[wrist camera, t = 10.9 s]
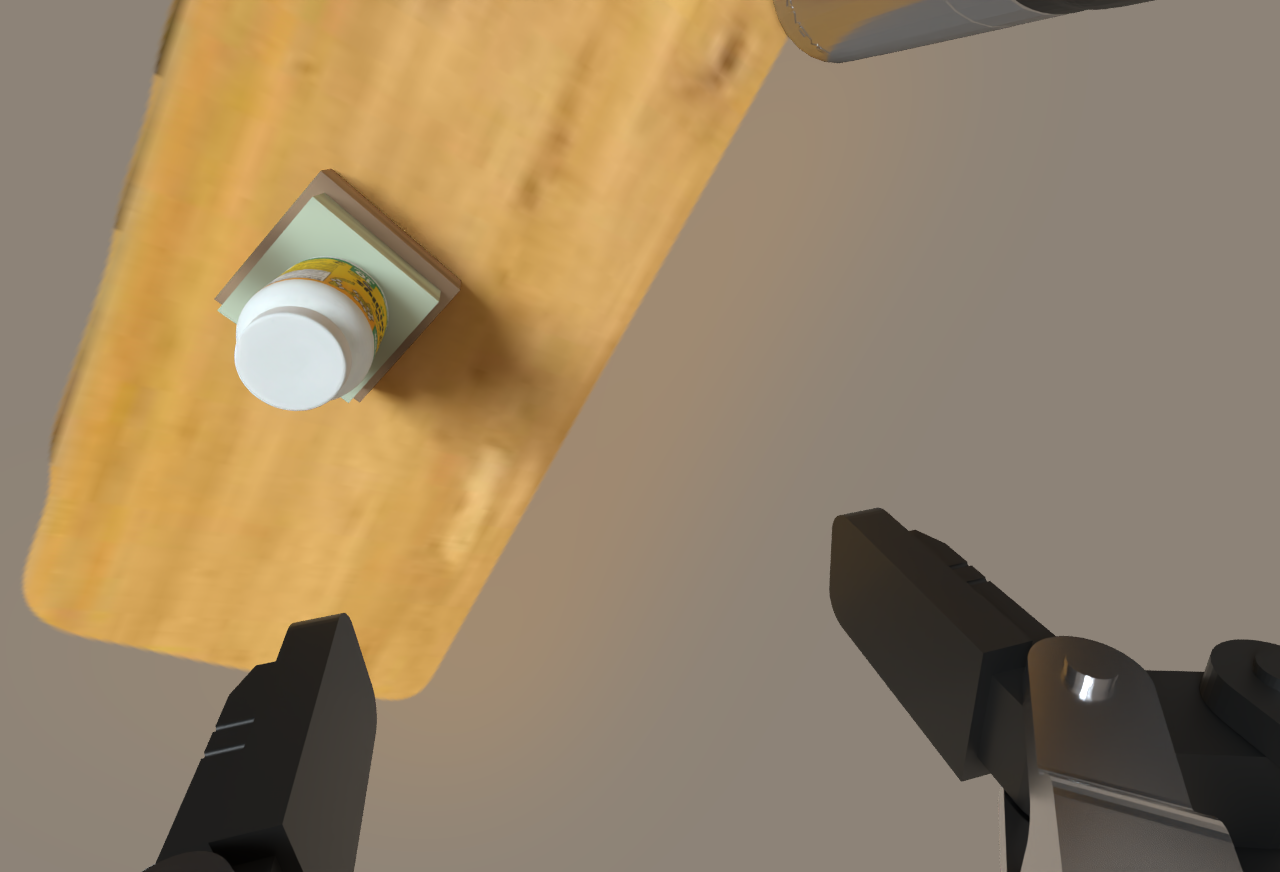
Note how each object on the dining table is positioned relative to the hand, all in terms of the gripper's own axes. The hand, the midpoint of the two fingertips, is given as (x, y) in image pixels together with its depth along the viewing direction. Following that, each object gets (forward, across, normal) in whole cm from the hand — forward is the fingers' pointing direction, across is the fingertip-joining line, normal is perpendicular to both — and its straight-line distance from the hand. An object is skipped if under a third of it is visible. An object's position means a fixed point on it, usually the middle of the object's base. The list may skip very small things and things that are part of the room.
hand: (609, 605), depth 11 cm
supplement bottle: (+28, +9, 0) cm, 30 cm away
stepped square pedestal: (+34, +9, 0) cm, 35 cm away
